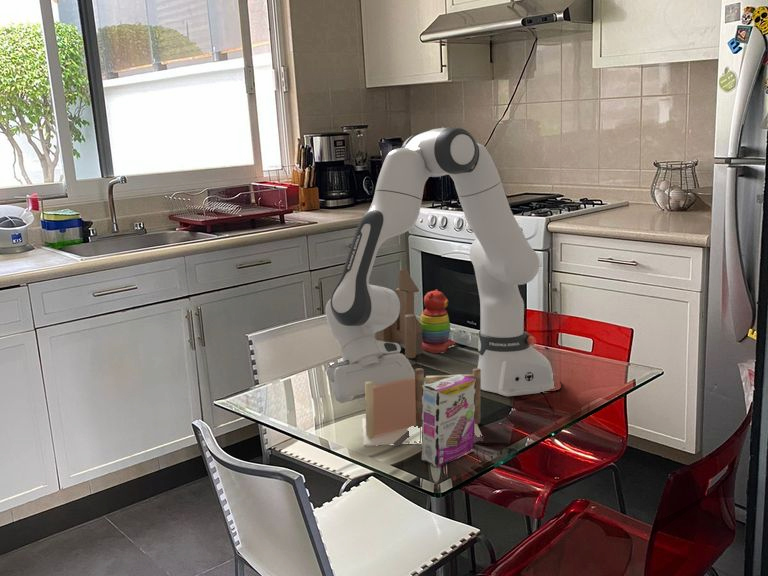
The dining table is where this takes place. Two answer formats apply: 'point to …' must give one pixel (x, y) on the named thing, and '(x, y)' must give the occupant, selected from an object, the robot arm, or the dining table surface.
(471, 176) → the robot arm
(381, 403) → the swing panel
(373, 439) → the card
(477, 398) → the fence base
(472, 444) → the candy bar box
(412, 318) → the wooden toy
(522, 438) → the dining table surface
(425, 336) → the stacking bear
